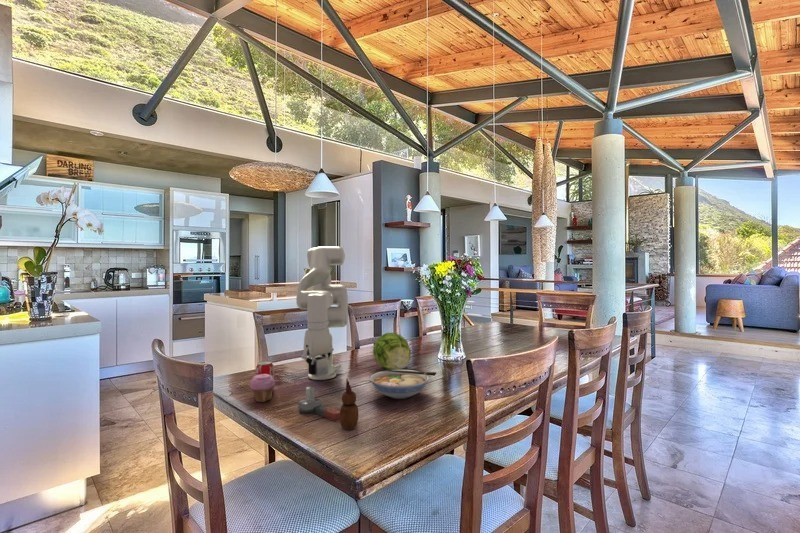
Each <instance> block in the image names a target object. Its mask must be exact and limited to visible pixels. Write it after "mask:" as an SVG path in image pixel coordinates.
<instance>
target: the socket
mask: <svg viewBox="0 0 800 533" xmlns="http://www.w3.org/2000/svg"><path fill="white" fill-rule="evenodd" d="M311 359H312V358H311ZM314 364H315V375H314V376H317V377H318V376H321V375H324V374H327V373H328V358H326V357H323V356H316V357H315V361H314ZM307 365H308V366H309V364H308V363H307ZM311 375H312V374H311Z"/></svg>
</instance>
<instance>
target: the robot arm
mask: <svg viewBox="0 0 800 533" xmlns="http://www.w3.org/2000/svg"><path fill="white" fill-rule="evenodd" d="M345 254H346V253H345V250H344V248H343V247H341V246H335V245H332V246H328V245H327V246H326V245H323V246H317V247H311V248H309V249H308V250H307V252H306V257H307V264H308V268H309V272H308V273H306V274H305V275H304V276H303V277H302V278H301V279H300V280H299V282H298V284H297V287H296V288H297V290H296V298H295V299H296V300H295V301H296V307H297V308H298V309H300V310H307V311H306V312H307V314H306V315H307V329H305V331H304V332H305V333H304V338H303V339H304V340H303V353H302V354H301V359H302V360H304V361H305V362H306V364H307V365H308V364H309V365H308V374H307V378H308V379H310V380H313V381H322V380H323V381H326V380H329V379H334V378H336V377H337V372H335V371H336V370H339V369H341V368H342V367H341V364H333V363H334V361H333V360H334V359H333V355H334V353H333V352H334V350H335V349H334V348H333V347H334V346H333V336H332V334H331V333H330V328H331V329H332V328H335V329H336V328H345V327H346V326H347V325H348V323H349V305H348V304H349V303H348V302H349V301H348V300H349V299H348V290H347V287H346V285H343V284H332V275H331V266H343V265H344V262H345V258H346V257H345V256H346V255H345ZM310 288H312V289H311V290H308V289H310ZM316 356H323V357H326V358H328V373H327V374H324V375H321V376H318V377H317V376H314V375H315V364H314V361H315V357H316ZM311 358H312V359H311ZM311 374H312V375H311Z"/></svg>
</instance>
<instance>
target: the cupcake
mask: <svg viewBox="0 0 800 533" xmlns="http://www.w3.org/2000/svg"><path fill="white" fill-rule="evenodd" d="M275 386H276V380H275V377H274V378H273V377H272V376H270V375H269V374H261V375H256V374H255V375H254V376H252V378H251V380H250V384H249V387H250V389H251V390H252V393H253V397H254V400H255V401H256V402H259V403H266V402H267V401H269V400H271V399H272V398H273V391H272V390H273V387H274V388H275Z"/></svg>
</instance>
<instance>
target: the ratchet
mask: <svg viewBox="0 0 800 533" xmlns="http://www.w3.org/2000/svg"><path fill="white" fill-rule="evenodd" d="M315 393H316V390H315V386H307V387H305V398H303V399H301V400H299V401H298V413H299V414H303V415H312V414H315V415H318V416H320V417H323V418H324V419H327V420H329V421H333V422H338V421H340V409H336V408H332V407H327V406H324V405H323V401H322V399H321V398H316V397H315Z"/></svg>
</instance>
